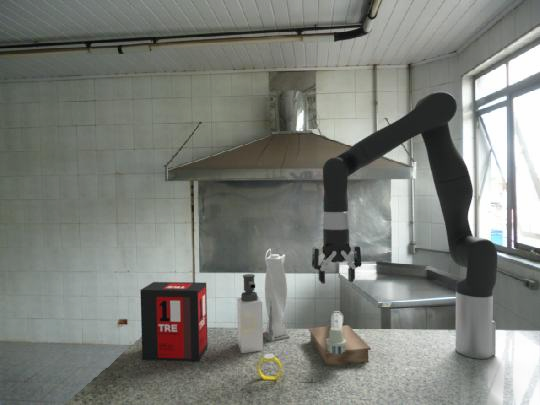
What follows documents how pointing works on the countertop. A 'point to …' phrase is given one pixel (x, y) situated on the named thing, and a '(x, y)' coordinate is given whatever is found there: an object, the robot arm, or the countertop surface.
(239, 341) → the soap dispenser
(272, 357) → the watch
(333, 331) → the white handheld device
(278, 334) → the skyscraper
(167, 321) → the cleaning product box
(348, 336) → the stand
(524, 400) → the countertop surface
